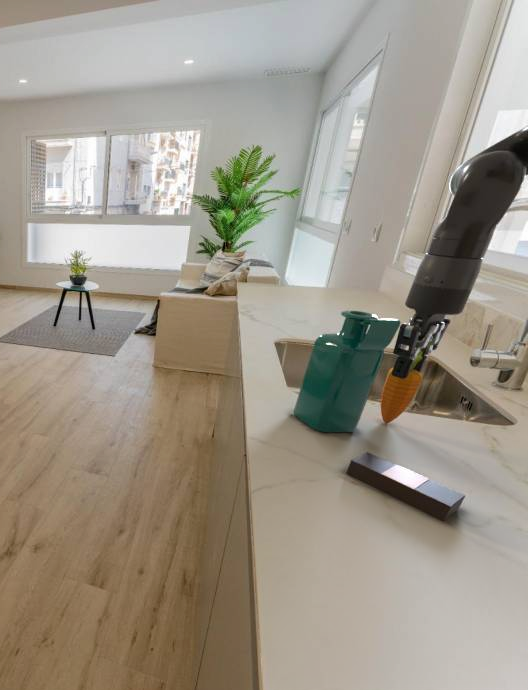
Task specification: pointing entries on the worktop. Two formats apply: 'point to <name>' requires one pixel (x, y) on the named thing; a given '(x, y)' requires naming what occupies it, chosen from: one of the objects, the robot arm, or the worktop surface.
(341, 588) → the worktop surface
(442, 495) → the snack bar
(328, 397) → the pitcher
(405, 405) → the carrot
